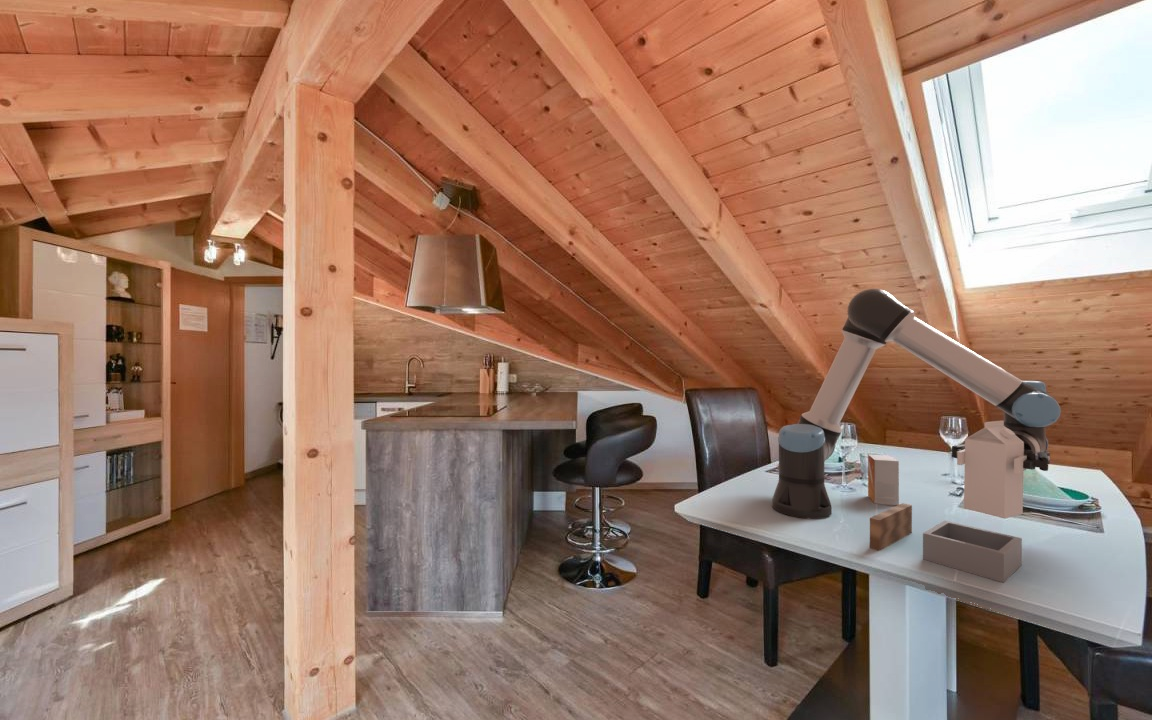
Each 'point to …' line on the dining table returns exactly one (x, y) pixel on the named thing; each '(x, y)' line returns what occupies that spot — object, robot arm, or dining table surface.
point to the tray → (973, 550)
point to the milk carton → (993, 471)
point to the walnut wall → (890, 526)
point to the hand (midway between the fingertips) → (987, 462)
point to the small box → (883, 479)
